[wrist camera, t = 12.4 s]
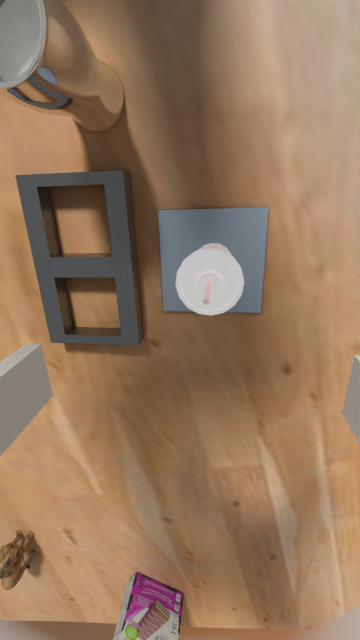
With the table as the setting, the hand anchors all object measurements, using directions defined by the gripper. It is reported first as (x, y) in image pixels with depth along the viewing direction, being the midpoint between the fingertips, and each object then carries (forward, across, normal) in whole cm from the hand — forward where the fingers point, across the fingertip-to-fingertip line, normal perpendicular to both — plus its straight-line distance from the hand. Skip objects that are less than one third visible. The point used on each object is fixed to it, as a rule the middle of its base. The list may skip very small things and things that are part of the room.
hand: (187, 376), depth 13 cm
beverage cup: (+24, 0, 0) cm, 24 cm away
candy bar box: (+25, -11, -67) cm, 72 cm away
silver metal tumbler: (+25, -12, +17) cm, 32 cm away
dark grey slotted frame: (+25, -15, 0) cm, 29 cm away
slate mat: (+25, 0, 0) cm, 25 cm away
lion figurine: (+25, -38, -58) cm, 74 cm away
